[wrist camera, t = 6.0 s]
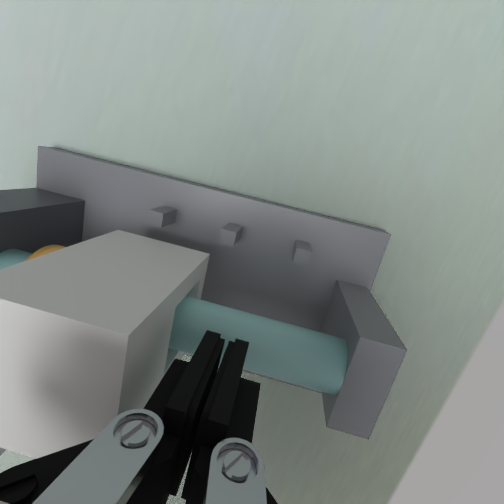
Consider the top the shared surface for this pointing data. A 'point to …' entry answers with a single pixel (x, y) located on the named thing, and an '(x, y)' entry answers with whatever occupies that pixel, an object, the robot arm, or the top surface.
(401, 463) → the top surface
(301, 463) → the top surface
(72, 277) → the sleeve
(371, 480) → the top surface
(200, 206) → the motor shaft test rig
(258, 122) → the top surface
